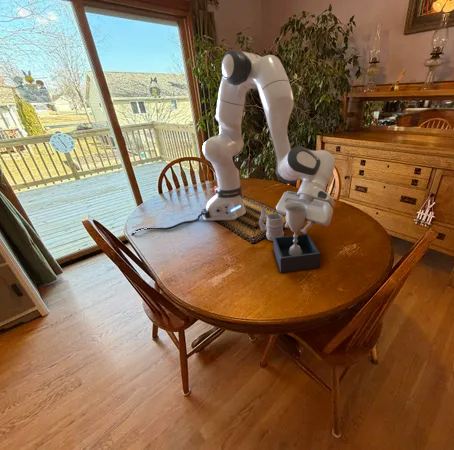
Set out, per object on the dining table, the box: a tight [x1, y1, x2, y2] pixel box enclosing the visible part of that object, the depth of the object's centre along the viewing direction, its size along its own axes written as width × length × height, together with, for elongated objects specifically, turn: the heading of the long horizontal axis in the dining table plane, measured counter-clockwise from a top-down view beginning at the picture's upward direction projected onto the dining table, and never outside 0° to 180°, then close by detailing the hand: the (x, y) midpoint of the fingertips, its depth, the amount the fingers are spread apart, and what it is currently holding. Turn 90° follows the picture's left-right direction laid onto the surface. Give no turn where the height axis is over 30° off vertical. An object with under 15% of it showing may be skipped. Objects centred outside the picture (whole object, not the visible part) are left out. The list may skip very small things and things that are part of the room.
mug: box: [258, 207, 285, 242], centre depth 99 cm, size 8×12×12 cm, turn 54°
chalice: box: [285, 203, 307, 256], centre depth 82 cm, size 7×7×18 cm
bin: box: [272, 233, 321, 273], centre depth 86 cm, size 14×14×6 cm
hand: (294, 230), depth 81 cm, fingers closed on chalice, 5 cm apart
